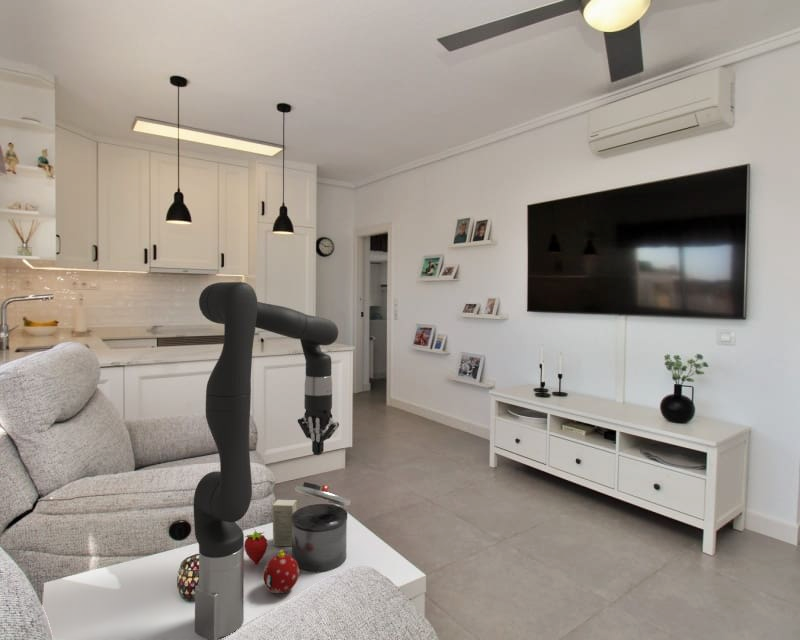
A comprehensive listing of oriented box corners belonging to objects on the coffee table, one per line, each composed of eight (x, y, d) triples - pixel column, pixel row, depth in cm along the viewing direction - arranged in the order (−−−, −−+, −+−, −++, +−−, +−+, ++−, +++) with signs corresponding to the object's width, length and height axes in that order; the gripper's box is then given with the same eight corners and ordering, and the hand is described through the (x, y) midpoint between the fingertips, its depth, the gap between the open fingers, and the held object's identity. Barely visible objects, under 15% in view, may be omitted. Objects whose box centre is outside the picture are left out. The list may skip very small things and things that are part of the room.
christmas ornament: (306, 587, 119) (306, 548, 119) (280, 605, 112) (280, 563, 112) (281, 576, 124) (281, 538, 124) (255, 593, 117) (255, 552, 116)
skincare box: (297, 539, 144) (298, 499, 143) (293, 547, 139) (293, 505, 139) (277, 538, 144) (277, 498, 144) (271, 545, 140) (272, 504, 140)
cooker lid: (331, 498, 124) (335, 485, 126) (283, 487, 131) (287, 475, 133) (360, 509, 137) (363, 497, 139) (315, 499, 145) (318, 487, 146)
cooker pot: (325, 578, 123) (326, 532, 123) (279, 563, 130) (279, 520, 130) (357, 551, 137) (357, 510, 137) (314, 539, 144) (314, 500, 144)
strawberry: (248, 574, 125) (248, 536, 125) (241, 561, 131) (241, 525, 131) (271, 567, 128) (271, 531, 128) (262, 555, 135) (262, 520, 134)
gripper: (290, 391, 131) (290, 454, 132) (330, 396, 125) (329, 461, 126) (307, 387, 138) (307, 447, 138) (346, 392, 132) (345, 454, 132)
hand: (317, 454), depth 132 cm, fingers closed
